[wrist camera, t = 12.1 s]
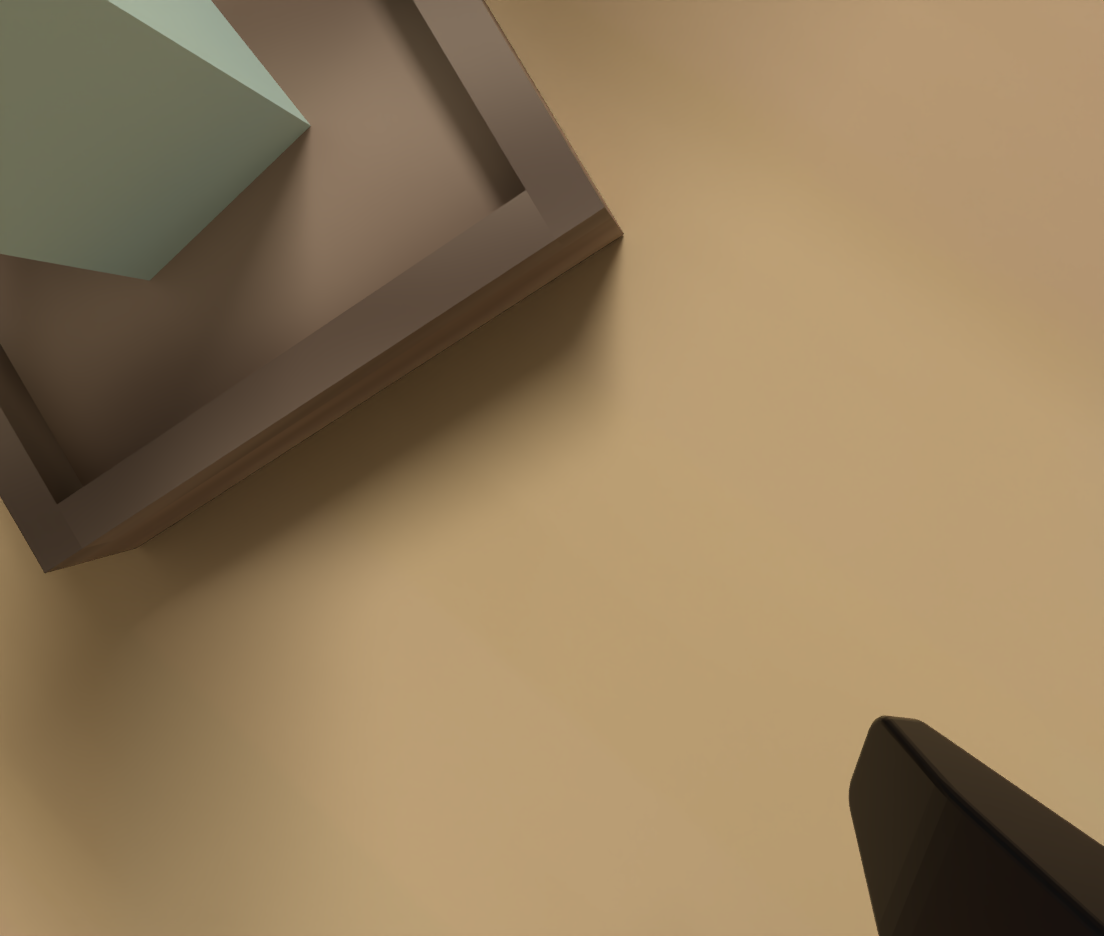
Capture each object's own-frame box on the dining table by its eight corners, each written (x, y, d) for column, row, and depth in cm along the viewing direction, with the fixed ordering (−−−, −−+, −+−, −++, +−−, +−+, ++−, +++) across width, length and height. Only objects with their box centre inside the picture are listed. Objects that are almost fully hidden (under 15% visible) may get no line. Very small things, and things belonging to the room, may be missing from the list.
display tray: (623, 234, 19) (604, 206, 16) (136, 548, 22) (44, 573, 19) (298, -312, 20) (222, -434, 17) (-145, 63, 22) (-279, 14, 19)
